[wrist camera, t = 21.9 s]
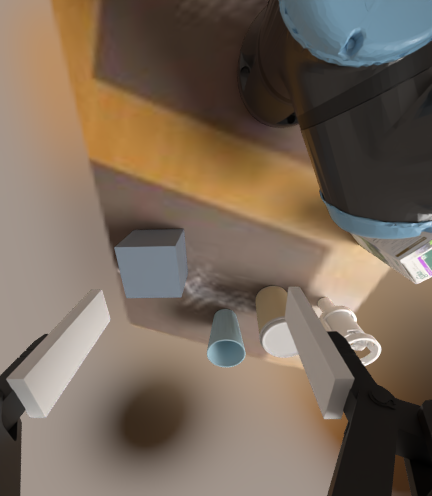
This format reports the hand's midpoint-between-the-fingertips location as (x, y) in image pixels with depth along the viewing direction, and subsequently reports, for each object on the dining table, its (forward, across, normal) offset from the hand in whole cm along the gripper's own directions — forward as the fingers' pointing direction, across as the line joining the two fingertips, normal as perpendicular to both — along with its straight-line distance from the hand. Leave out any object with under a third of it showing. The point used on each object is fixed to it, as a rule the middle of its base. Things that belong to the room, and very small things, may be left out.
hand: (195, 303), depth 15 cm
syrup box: (+29, +30, -4) cm, 42 cm away
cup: (+29, +2, -27) cm, 39 cm away
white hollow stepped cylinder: (+29, +25, -23) cm, 45 cm away
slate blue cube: (+29, -11, -9) cm, 32 cm away
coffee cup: (+29, +13, -22) cm, 38 cm away
